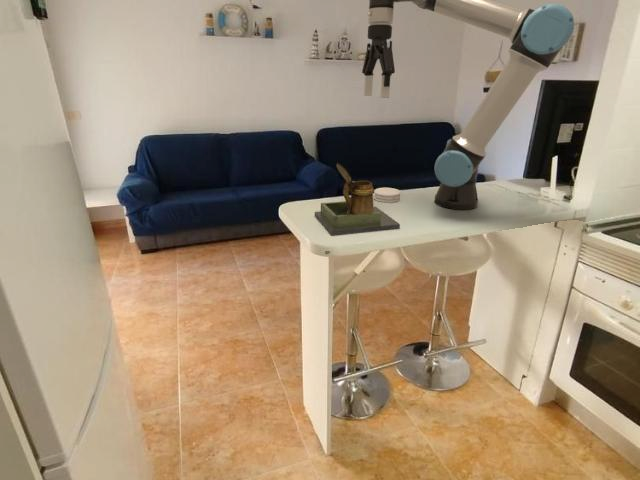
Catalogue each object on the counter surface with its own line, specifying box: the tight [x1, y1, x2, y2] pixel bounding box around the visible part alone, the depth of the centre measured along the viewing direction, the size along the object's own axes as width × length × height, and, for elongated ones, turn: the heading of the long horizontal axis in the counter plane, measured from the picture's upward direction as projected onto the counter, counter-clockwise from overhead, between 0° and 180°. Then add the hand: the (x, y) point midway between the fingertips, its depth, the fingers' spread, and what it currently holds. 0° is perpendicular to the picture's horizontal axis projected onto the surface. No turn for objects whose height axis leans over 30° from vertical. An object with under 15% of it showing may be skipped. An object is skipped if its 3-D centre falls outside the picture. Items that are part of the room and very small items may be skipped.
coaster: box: [373, 187, 402, 204], centre depth 149 cm, size 10×10×4 cm
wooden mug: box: [336, 162, 375, 215], centre depth 121 cm, size 9×14×18 cm, turn 113°
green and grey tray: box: [314, 200, 401, 237], centre depth 125 cm, size 22×18×5 cm
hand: (375, 96), depth 132 cm, fingers open, 13 cm apart
